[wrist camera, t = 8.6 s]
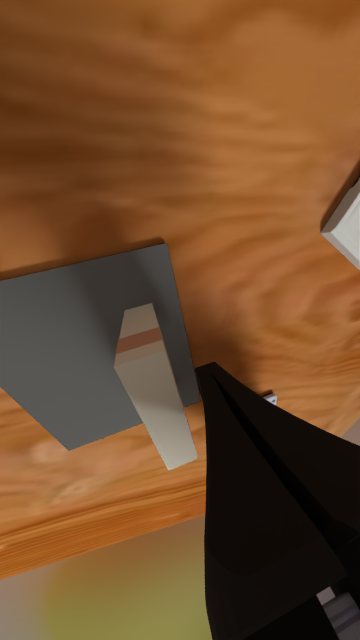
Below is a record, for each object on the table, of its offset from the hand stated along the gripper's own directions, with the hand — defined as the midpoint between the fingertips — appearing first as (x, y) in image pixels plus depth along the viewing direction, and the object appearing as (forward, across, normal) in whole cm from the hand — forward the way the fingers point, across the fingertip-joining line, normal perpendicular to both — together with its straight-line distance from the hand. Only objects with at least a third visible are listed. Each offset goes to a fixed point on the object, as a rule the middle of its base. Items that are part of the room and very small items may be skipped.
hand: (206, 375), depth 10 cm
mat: (+4, +7, 0) cm, 8 cm away
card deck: (+4, +3, 0) cm, 5 cm away
